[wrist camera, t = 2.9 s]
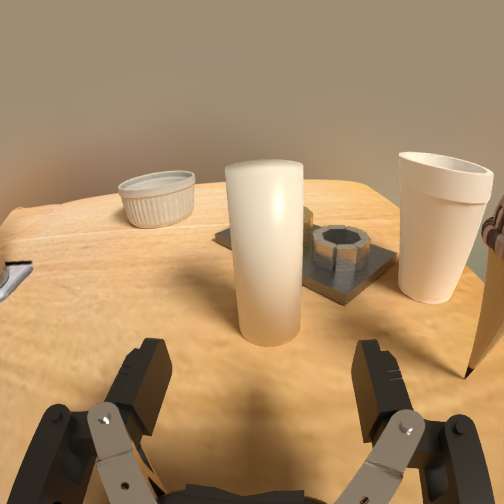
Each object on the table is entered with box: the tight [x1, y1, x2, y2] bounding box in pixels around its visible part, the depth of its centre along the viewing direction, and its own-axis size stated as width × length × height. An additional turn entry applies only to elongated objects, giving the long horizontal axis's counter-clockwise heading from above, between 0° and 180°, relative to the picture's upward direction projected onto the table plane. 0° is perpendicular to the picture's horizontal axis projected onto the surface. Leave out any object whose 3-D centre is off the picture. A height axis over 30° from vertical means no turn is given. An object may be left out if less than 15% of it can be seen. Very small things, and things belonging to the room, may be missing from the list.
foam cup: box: [397, 152, 494, 304], centre depth 25 cm, size 10×9×13 cm
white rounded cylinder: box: [225, 159, 303, 346], centre depth 22 cm, size 5×5×13 cm
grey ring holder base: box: [215, 206, 397, 306], centre depth 36 cm, size 20×11×4 cm, turn 41°
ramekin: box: [118, 171, 195, 228], centre depth 49 cm, size 13×13×7 cm
